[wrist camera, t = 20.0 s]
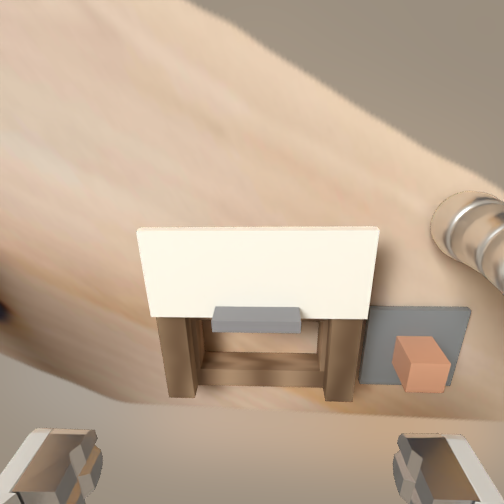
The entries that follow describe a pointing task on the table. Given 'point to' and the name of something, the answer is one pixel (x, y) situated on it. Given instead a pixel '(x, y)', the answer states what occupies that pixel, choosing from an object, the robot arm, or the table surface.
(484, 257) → the plastic bottle
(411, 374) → the block
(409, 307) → the coaster
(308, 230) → the lid
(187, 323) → the wooden box
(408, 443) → the robot arm
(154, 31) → the table surface
